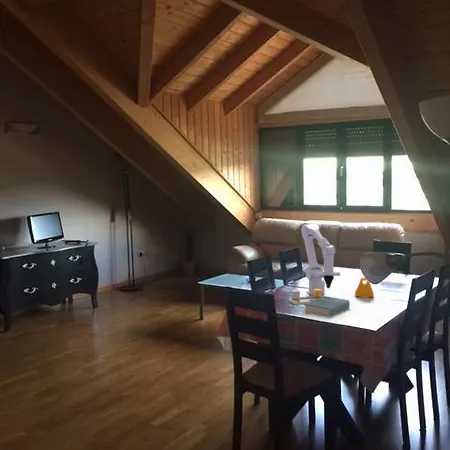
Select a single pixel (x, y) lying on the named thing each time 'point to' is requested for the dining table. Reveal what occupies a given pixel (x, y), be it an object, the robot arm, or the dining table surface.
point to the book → (326, 306)
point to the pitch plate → (300, 298)
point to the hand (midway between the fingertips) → (328, 287)
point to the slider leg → (317, 293)
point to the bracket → (364, 289)
